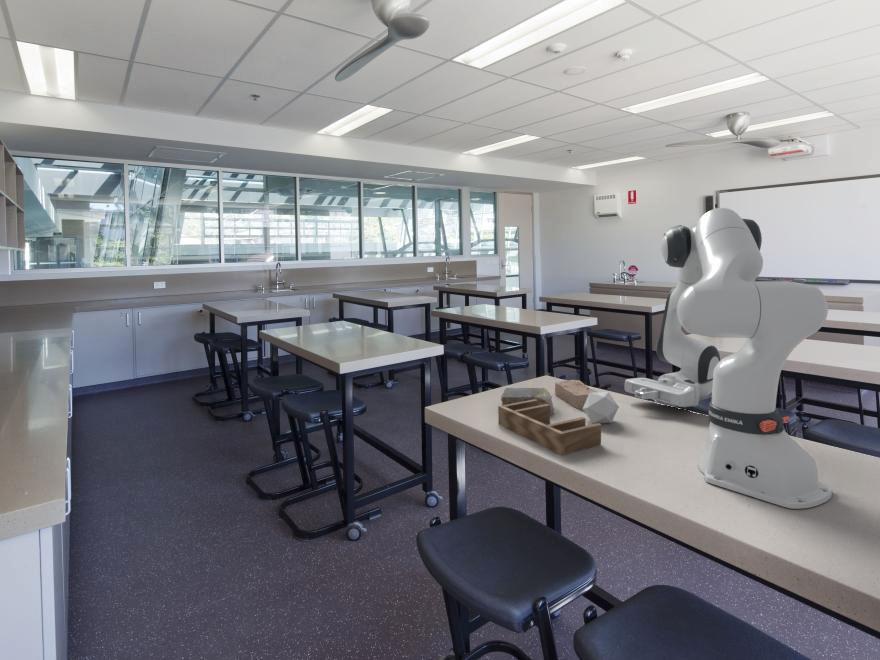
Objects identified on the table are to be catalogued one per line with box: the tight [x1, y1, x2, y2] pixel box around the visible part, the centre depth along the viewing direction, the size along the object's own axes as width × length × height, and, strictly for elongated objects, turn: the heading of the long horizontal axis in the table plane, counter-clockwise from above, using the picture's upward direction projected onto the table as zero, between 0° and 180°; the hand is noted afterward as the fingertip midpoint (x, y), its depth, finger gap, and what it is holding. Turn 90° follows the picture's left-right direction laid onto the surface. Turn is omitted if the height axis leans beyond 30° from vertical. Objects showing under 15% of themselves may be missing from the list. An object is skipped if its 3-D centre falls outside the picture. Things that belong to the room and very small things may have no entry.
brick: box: [554, 379, 598, 410], centre depth 158 cm, size 17×8×5 cm, turn 11°
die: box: [582, 391, 620, 425], centre depth 138 cm, size 8×9×10 cm
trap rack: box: [497, 399, 602, 456], centre depth 130 cm, size 25×12×5 cm, turn 28°
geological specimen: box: [500, 387, 555, 415], centre depth 151 cm, size 11×6×15 cm
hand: (639, 395), depth 144 cm, fingers closed
